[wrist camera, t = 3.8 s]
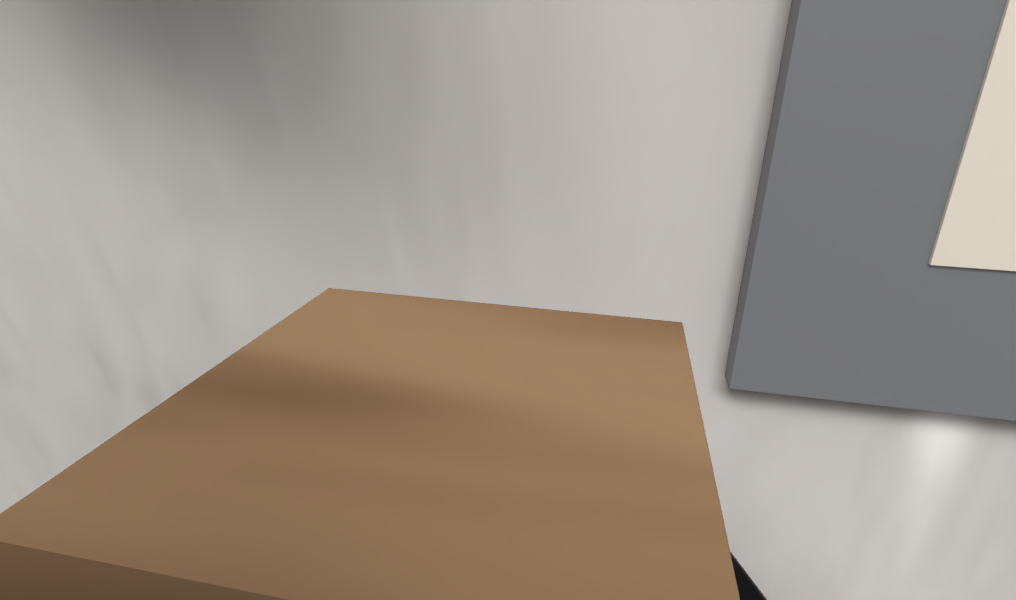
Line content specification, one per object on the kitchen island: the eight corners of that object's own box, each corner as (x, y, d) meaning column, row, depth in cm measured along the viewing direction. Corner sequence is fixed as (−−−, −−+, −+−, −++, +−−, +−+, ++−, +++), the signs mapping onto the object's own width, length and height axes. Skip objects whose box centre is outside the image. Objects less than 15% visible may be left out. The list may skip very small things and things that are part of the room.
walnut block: (640, 605, 9) (648, 1106, 5) (353, 553, 10) (128, 935, 6) (682, 322, 8) (759, 694, 3) (328, 288, 8) (-32, 535, 4)
